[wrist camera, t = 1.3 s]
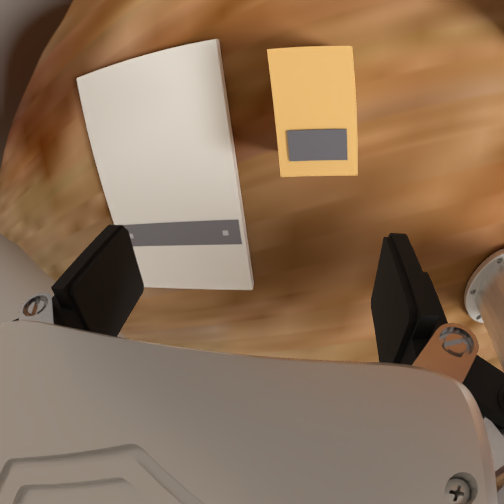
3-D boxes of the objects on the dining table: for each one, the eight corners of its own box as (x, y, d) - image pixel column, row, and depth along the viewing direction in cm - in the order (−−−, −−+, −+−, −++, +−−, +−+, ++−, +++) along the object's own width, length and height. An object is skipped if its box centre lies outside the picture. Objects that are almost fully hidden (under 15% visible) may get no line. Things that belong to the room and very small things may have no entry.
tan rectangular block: (341, 50, 24) (352, 45, 18) (347, 151, 29) (357, 176, 23) (275, 52, 25) (266, 49, 19) (286, 152, 31) (280, 177, 25)
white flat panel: (219, 39, 25) (215, 38, 24) (254, 283, 40) (252, 290, 39) (82, 76, 28) (75, 78, 27) (140, 281, 43) (136, 287, 42)
